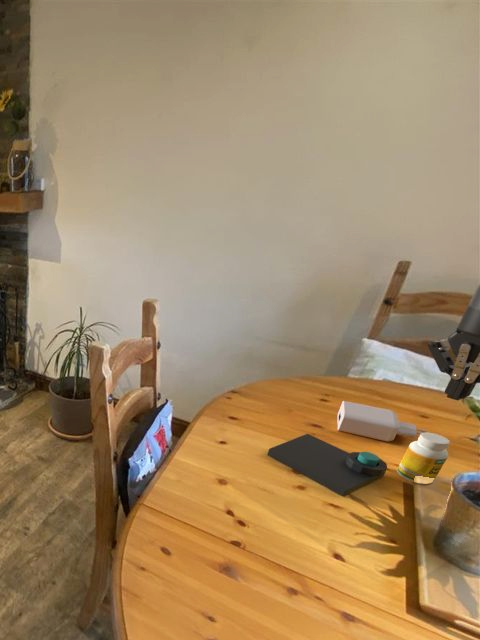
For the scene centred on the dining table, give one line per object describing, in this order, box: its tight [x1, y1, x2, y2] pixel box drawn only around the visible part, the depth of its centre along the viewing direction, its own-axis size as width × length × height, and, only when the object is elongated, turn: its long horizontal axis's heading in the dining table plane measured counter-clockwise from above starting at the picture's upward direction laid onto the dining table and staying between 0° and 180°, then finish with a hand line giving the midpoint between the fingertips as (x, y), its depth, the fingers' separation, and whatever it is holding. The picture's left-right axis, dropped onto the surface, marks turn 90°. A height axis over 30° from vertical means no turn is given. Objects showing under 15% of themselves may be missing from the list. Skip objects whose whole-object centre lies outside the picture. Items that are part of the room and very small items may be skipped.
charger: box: [336, 400, 428, 443], centre depth 97 cm, size 5×9×15 cm
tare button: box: [357, 451, 380, 466], centre depth 84 cm, size 3×3×2 cm
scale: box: [266, 433, 388, 498], centre depth 88 cm, size 15×13×4 cm
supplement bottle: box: [396, 432, 451, 483], centre depth 82 cm, size 5×5×10 cm
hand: (454, 398), depth 76 cm, fingers closed
